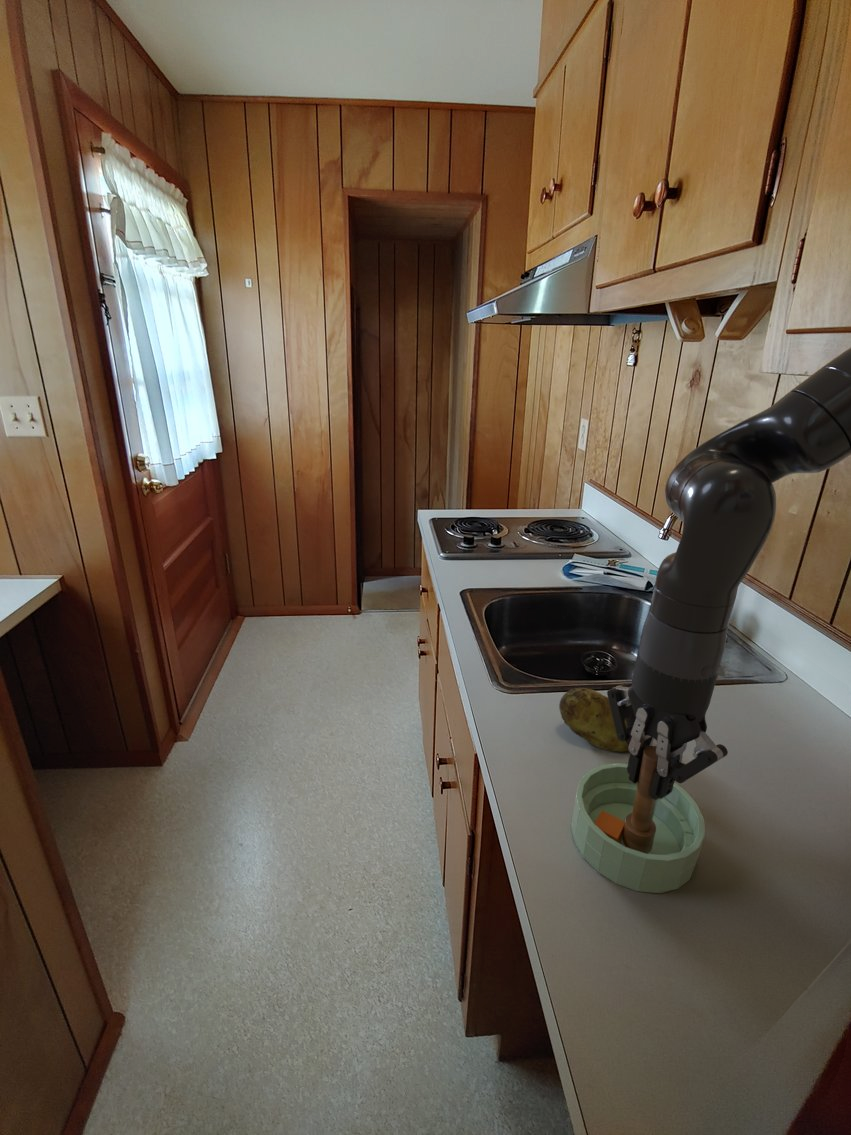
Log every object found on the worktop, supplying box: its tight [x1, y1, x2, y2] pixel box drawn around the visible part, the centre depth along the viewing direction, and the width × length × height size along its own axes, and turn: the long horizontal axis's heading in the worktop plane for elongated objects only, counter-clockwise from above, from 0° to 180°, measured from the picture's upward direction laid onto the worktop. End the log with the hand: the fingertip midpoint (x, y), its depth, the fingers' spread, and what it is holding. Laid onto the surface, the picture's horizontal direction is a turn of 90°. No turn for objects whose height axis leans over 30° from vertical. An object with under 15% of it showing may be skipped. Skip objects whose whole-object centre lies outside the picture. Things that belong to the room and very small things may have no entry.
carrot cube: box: [594, 811, 625, 843], centre depth 67 cm, size 3×3×3 cm
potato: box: [558, 687, 630, 753], centre depth 84 cm, size 8×13×8 cm, turn 56°
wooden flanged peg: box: [622, 745, 658, 854], centre depth 63 cm, size 3×3×14 cm
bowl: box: [570, 762, 706, 894], centre depth 67 cm, size 14×14×6 cm
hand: (646, 786), depth 62 cm, fingers closed on wooden flanged peg, 2 cm apart
